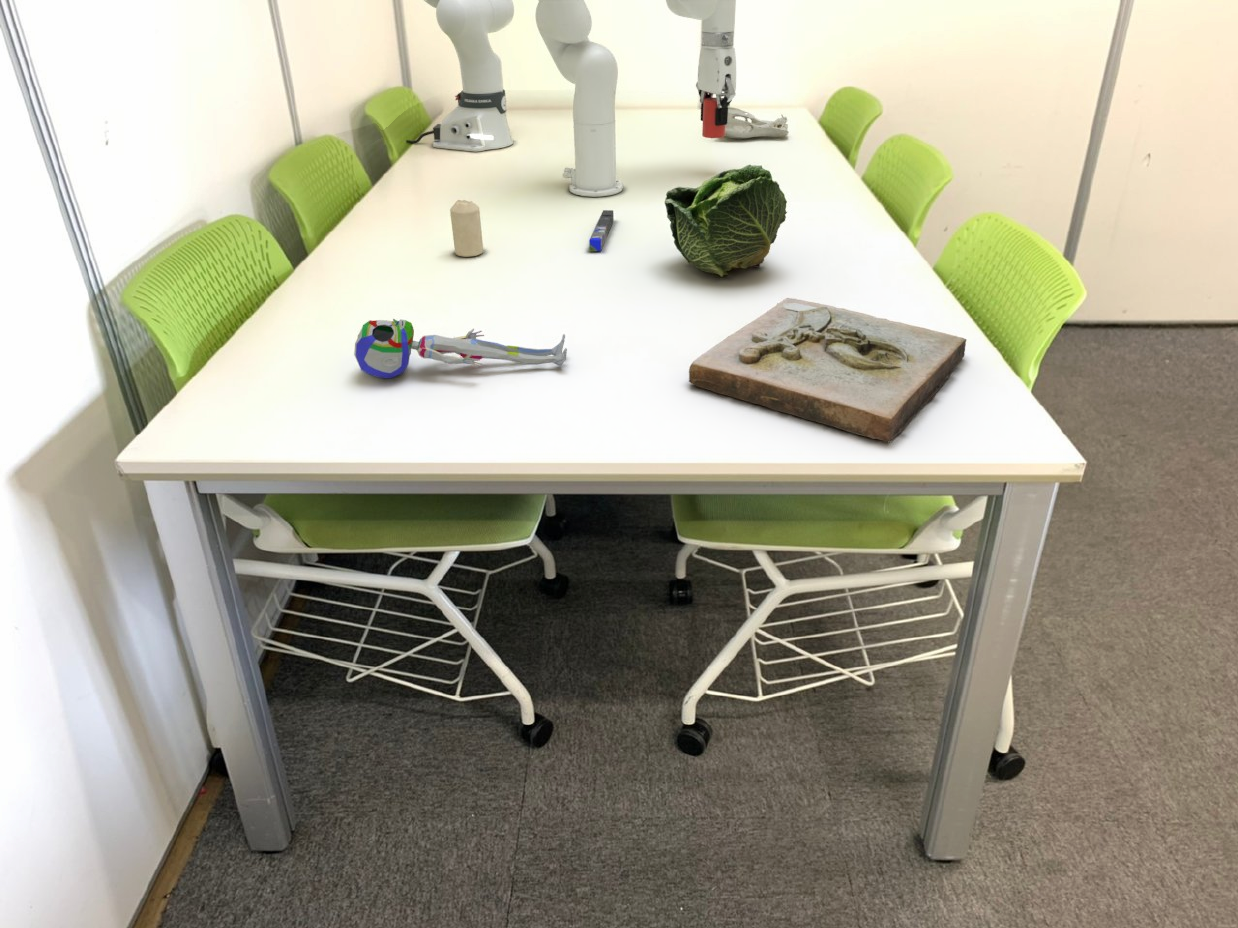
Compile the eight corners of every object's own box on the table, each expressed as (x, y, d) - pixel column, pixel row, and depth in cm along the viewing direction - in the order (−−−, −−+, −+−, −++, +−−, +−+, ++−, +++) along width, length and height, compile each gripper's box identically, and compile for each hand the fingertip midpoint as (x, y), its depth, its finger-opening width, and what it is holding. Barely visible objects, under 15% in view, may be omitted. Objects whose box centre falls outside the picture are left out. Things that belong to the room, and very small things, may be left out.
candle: (488, 249, 176) (483, 198, 171) (475, 258, 172) (470, 206, 167) (463, 246, 178) (457, 196, 173) (450, 255, 174) (443, 204, 168)
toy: (569, 347, 126) (349, 329, 122) (563, 400, 131) (350, 385, 126) (565, 318, 135) (359, 301, 130) (559, 369, 139) (360, 354, 134)
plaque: (899, 396, 108) (687, 337, 122) (890, 447, 111) (686, 383, 126) (977, 316, 128) (788, 274, 143) (967, 361, 132) (784, 315, 147)
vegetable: (694, 294, 173) (643, 202, 166) (775, 239, 175) (728, 145, 167) (734, 307, 155) (678, 205, 147) (824, 245, 156) (773, 141, 149)
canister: (725, 138, 215) (727, 101, 210) (702, 138, 215) (704, 102, 211) (724, 133, 219) (725, 97, 215) (701, 133, 220) (703, 97, 215)
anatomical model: (702, 99, 259) (790, 97, 255) (702, 132, 264) (788, 131, 260) (698, 109, 247) (790, 108, 243) (698, 144, 252) (788, 143, 248)
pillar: (613, 210, 190) (600, 241, 173) (613, 220, 191) (600, 251, 174) (603, 210, 190) (589, 240, 173) (603, 220, 191) (589, 251, 174)
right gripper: (752, 43, 201) (747, 127, 211) (710, 35, 214) (707, 115, 223) (724, 45, 198) (720, 131, 208) (683, 37, 211) (681, 118, 220)
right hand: (713, 122), depth 215 cm, fingers closed on canister, 5 cm apart
